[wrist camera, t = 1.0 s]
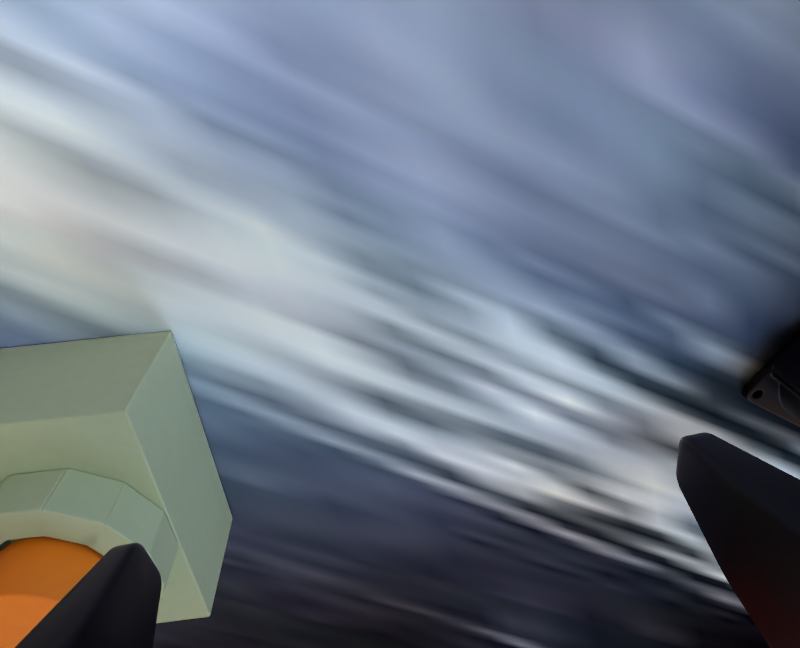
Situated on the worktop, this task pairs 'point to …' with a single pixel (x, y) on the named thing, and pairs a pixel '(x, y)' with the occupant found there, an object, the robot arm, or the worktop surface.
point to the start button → (37, 581)
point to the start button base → (113, 459)
